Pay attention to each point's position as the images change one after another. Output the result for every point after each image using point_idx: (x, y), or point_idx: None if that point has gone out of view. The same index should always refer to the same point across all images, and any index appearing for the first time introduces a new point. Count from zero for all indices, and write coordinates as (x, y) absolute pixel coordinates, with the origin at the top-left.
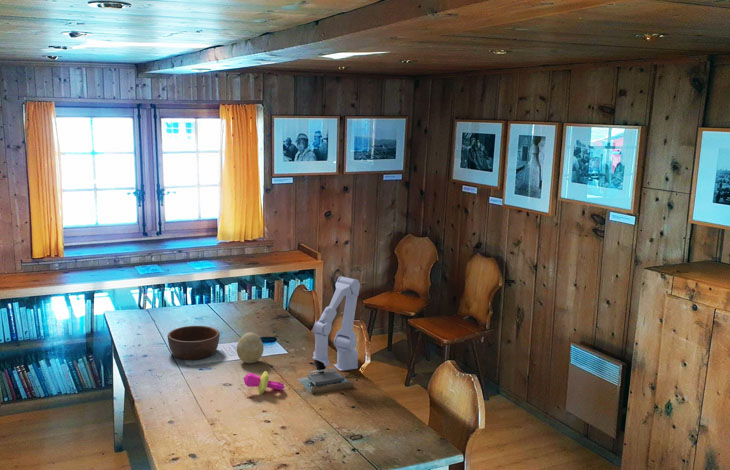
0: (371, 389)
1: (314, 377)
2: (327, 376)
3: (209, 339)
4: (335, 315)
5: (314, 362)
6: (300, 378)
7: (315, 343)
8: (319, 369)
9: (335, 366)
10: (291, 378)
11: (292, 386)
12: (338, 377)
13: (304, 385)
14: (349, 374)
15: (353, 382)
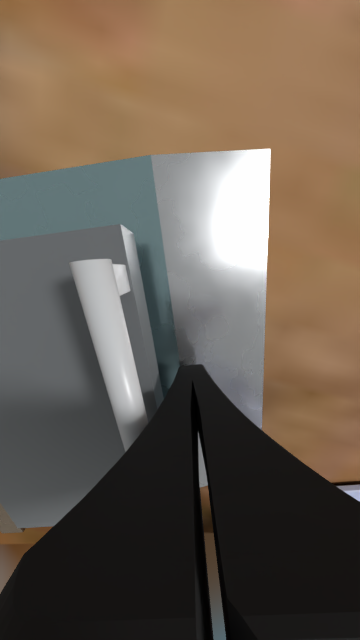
0: (11, 534)
1: (19, 301)
2: (49, 436)
3: None
4: None
5: (357, 505)
6: (250, 191)
7: None
8: (152, 431)
9: (342, 488)
10: (299, 75)
11: (61, 15)
12: (24, 501)
13: (40, 177)
14: (209, 509)
15: (4, 528)
